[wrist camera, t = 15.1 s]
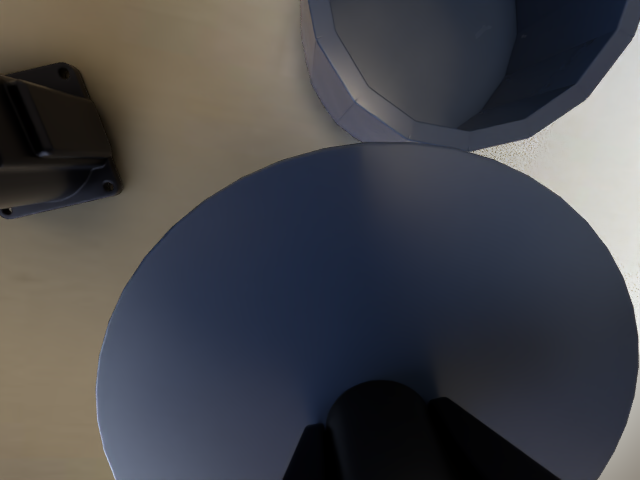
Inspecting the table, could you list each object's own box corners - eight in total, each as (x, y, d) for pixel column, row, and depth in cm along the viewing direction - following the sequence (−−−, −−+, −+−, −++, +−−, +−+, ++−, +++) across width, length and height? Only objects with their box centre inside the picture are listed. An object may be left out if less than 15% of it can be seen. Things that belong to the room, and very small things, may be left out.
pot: (329, 174, 17) (343, 180, 11) (278, -70, 14) (259, -245, 8) (529, 128, 17) (655, 109, 11) (517, -126, 14) (679, -345, 8)
